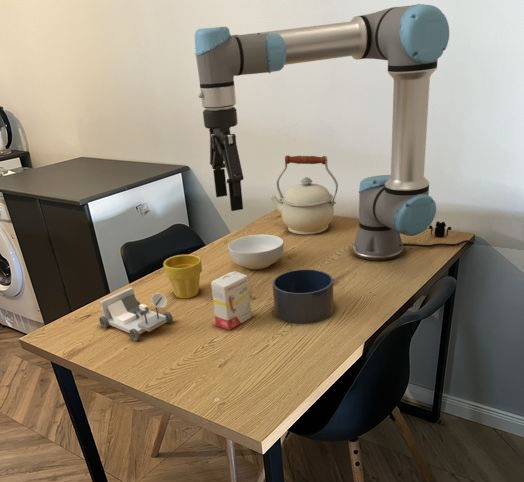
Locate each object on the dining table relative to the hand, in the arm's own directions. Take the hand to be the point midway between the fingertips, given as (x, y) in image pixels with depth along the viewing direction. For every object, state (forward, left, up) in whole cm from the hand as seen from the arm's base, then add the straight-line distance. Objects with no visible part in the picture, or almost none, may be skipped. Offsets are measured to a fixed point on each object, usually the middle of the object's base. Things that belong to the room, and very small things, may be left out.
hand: (229, 202), depth 133 cm
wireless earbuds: (-74, -13, -27) cm, 80 cm away
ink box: (+5, +9, -27) cm, 29 cm away
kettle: (-41, -46, -27) cm, 68 cm away
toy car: (+27, -1, -27) cm, 38 cm away
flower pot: (+11, -14, -27) cm, 33 cm away
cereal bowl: (-14, -23, -27) cm, 39 cm away
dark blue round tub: (-13, +12, -27) cm, 32 cm away
